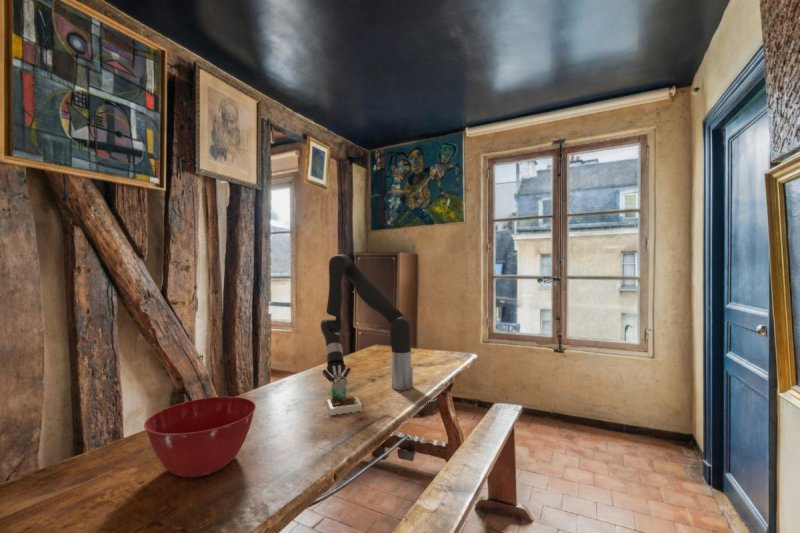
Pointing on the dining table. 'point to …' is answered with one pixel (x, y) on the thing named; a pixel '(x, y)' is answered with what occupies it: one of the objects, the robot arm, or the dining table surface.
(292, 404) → the dining table surface
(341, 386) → the food container
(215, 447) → the mixing bowl
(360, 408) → the bay
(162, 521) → the dining table surface
